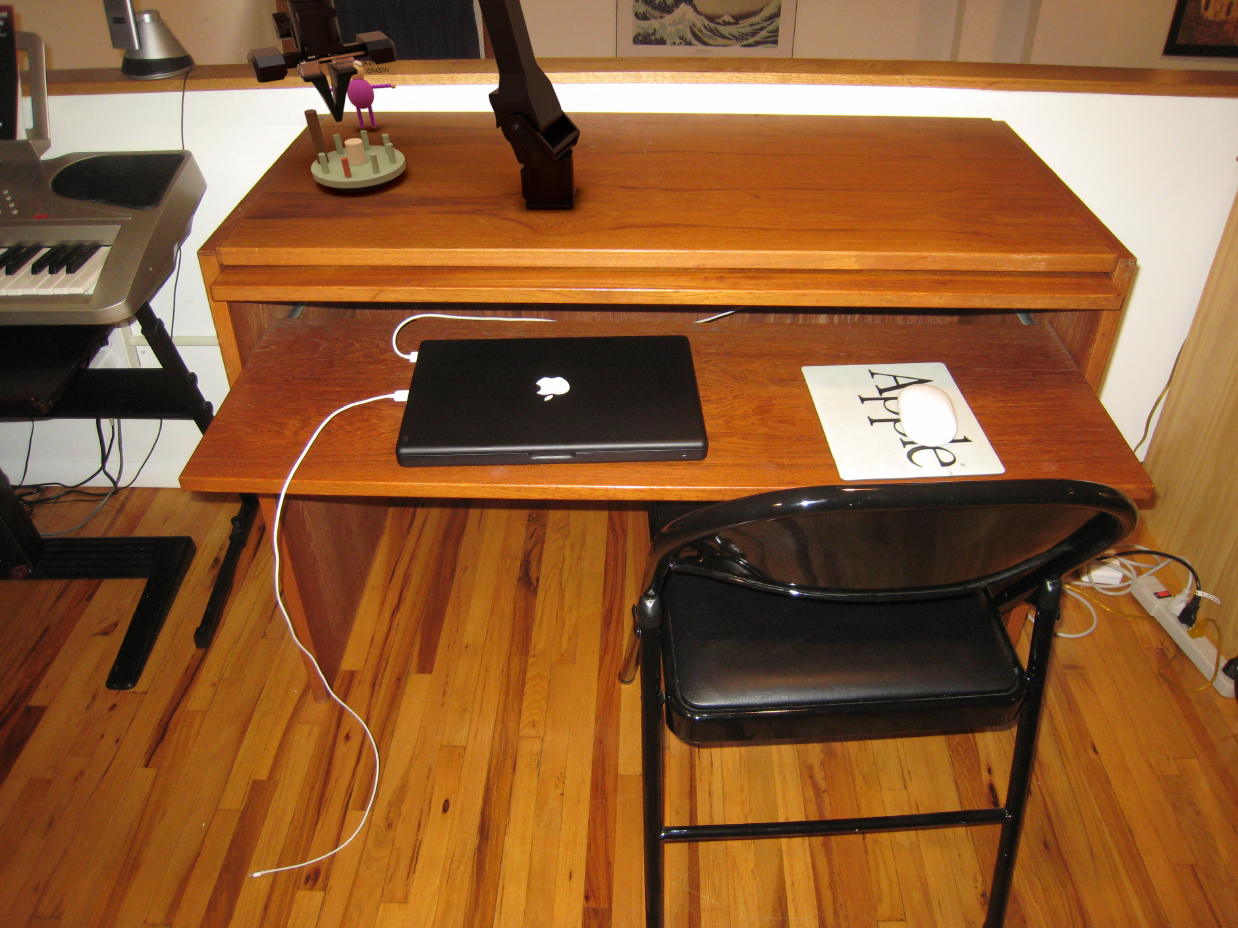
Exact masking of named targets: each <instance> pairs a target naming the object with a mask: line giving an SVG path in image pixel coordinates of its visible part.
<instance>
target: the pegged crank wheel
mask: <svg viewBox="0 0 1238 928" xmlns="http://www.w3.org/2000/svg"><path fill="white" fill-rule="evenodd" d="M303 113H304V117H305V121H306V125H307V129H308V132H309V137H310V139H311V144H312V148H313V151H314V155H315V160H314V161H313V162H312V164H311V165H310V166H311V167H310V171H311V174H312V178H313V179H314V180H315V182H316V183H318V184H320V185H323V186H326V187H330V188H333V187H335V188H360V187H367V186H373V185H377V184H380V183H384V182H386V181H389V180H391V179H392V180H394V179H395V178H397V177H398V176H400V175H401V174H403V172H404V171H405V170H406V167H407V162H406V158H405V155H404V154H403V152H401V151H400V150H398V149H396V148H394V144H393V143H392V142H391V140H390V137H389V133H383V134H381V137H382V142H383V145H375V144H374V145H370V141H369V135H368V131H367V130H366V129H365V130H360V138H358V137H353V138H348V139H346V140H345V141H344V146H345V147H343V143H342V139H341V134H340V133H334V134H332V137H333V141H334V145H335V150H333V151H330V152H327V147H326V143H325V139H324V135H323V133H322V132H323V131H322V128H321V124H320V119H319V115H318V112H317V110H316V109H315V108H310V109H306V110H304V112H303ZM335 188H334V189H335Z"/></svg>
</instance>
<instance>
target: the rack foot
mask: <svg viewBox="0 0 1238 928" xmlns="http://www.w3.org/2000/svg"><path fill="white" fill-rule="evenodd" d="M392 180H393V179H391V180H389V181H386V182H384V183H380V184H377V185H373V186H367V187H360V188H335V187H332V188H333V189H335V190H338V191H341V192H347V193H360V192H362V193H363V192H368V191H373V190H375V189H377V190H378V189H381V188H382V187H385V186H386V185H388V184H390V183H391V182H392Z"/></svg>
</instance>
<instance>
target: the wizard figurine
mask: <svg viewBox="0 0 1238 928" xmlns="http://www.w3.org/2000/svg"><path fill="white" fill-rule="evenodd" d="M353 64H354V67H355V68H356V69H357V70H358V74H356V75H352V77H351V80H350V84H349V87H348V90H347V94H346V96H347V98H348V100H349V102H350V104H351V105H353V107H355V109H356V114H357V115H356V116H357V119H358V124H359V129H360V131H362V130H366V129H367V128H366V125H365V122H364V118H363V114H362V110H366V109H367V111H368V116H369V120H370V124H371V127H370V128H371V129H372V130H374V131H376V130H377V128H378V127H377V125H376V119H375V115H374V110H373V103H374V102H375V101H374V100H375V92H374V91H375V90H377V89H396V87H397V84H396V83H395V82H390V83H382V84H370V82H369V81H367V80H366V79H365V70H364V67H363V65H366V66H368V65H369V66H373V64H374V62H373V61H372V60H370V59H368V63H367V62H366V59H365V60H364V61H363V62H361V61H359V60H356V58H355V59H354V62H353ZM385 64H388V63H385ZM376 65H377V66H378V65H379V64H376ZM377 68H378V69H377ZM378 70H379V71H378ZM383 72H384V73H386V72H387V73H389V67H385V68H384V67H375V69H374V67H372V68H367V69H366V73H367V74H372V73H374V74H376V73H379V74H380V73H383ZM330 90H331V93H332V87H330Z"/></svg>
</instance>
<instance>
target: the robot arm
mask: <svg viewBox="0 0 1238 928" xmlns="http://www.w3.org/2000/svg"><path fill="white" fill-rule="evenodd" d="M477 2H478V5H479V9H480V13H481V16H482V20H483V23H484V27H485V30H486V33H487V37H488V40H489V43H490V47H491V50H492V53H493V54H492V55H493V57H494V62H495V65H496V67H497V71H498V85H497V88H496V89H494V90H493V91H491V92H489V93H488V94H487V95H488V96H487V97H488V101H489V105H490V106H491V109H492V111H493V113H494V116H495V128H496V129H499V128H500V130H501V132H502V135H503V137H504V139H505V140H506V141H507V142H508V143H509V144H510V146H511V149H512V151H513V153H514V155H515V158H516V160H517V163H518V164H520V165H521V166H520V168H519V171H520V172H519V173H520V182H521V184H520V185H521V193H522V198H523V200H525V203H524V208H525V209H527V210H529V209H530V210H532V209H533V210H535V209H536V210H540V209H542V210H544V209H545V210H547V209H549V210H551V209H557V210H565V209H566V210H569V209H574V207H575V202H576V195H577V186H576V185H575V170H574V169H575V168H574V152H573V151H574V150H573V149H572V148H573V147H575V146H577V145H578V141H579V138H580V134H581V130H580V129H579V128H578V126H577V125H576V124H575V123H574V122H573V120H571V118H570V117H569V115H567V114H566V112H565V111H564V110H563V108H562V106H561V102H560V100H559V97H558V96H557V95H558V94H557V93H556V90H555V88H554V86H553V83H552V81H551V80H550V78H549V77H548V76H547V75H546V74H545V72H544V70H543V69H542V68H541V67H540V66H539V65H538V62H537V60H536V57H535V53H534V49H533V47H532V41H531V38H530V34H529V30H528V26H527V22H526V19H525V16H524V11H523V7H522V3H521V0H477ZM286 4H287V7H288V12H289V17H288V14H287V12H286V11H281V12H280V11H279V12H272V13H271V15H270V16H271V20H272V24H273V28H274V32H275V35H276V38H277V40H278V41H280V42H281V41H287V40H292V44H293V47H294V48H295V49H298V50H296V51H290V52H284V53H282V52H281V51H280V50H279V49H278V48H277V46H276V45H275V46H267V47H259V48H253V49H249V50H248V52H247V54H246V59H247V64H248V66H249V71H250V73H251V75H252V76H253V77H254V78H255V80H256V81H257V82H258V83H260V84H264V83H271V82H277V81H283V80H285V79H286V76H287V75H288V73H289V71H288V70H291V69H295V72H296V74H297V75H298V76H299V77H300V79H301V80H302V81H303V82H304V83H311V84H312V85H313V86H314V88H315V89H316V90H317V92H318V94H319V96H320V97H321V98H322V100H323V102H324V104H325V106H326V108H327V109H328V112H329V113H330V114H331V116H332V118H333V120H334V121H335V123H341V122H343V119H344V118H343V117H344V112H345V105H346V99H347V90H348V87H349V84H350V81H351V80H352V78H351V77H352V75H356V74H358V70H357V69H356V68H355V67H354V64H353V62H354V59H355V60H356V59H361V58H368V60H371V62H372V61H373V64H375V65H377V64H378V65H384V64H386V63H387V64H389V63H394V62H397V61H398V54H397V48H396V46H395V45H396V44H395V43H394V41H393V40H392V39H391V38H389V37H388V36H387V35H386V34H385V33H383V31H381V30H374V31H368V32H362V33H356V34H355V42H351V43H350V42H349V43H344V42H343V39H342V35H341V31H340V26H339V21H338V14H337V9H336V8H335V3H334V0H286ZM322 64H326V67H327V71H328V74H329V79H330V83H329V80H328V77H327V75H326V74H325V73H324V71H323V70H321V65H322ZM330 85H331V87H330ZM330 88H332V92H331V90H330Z"/></svg>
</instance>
